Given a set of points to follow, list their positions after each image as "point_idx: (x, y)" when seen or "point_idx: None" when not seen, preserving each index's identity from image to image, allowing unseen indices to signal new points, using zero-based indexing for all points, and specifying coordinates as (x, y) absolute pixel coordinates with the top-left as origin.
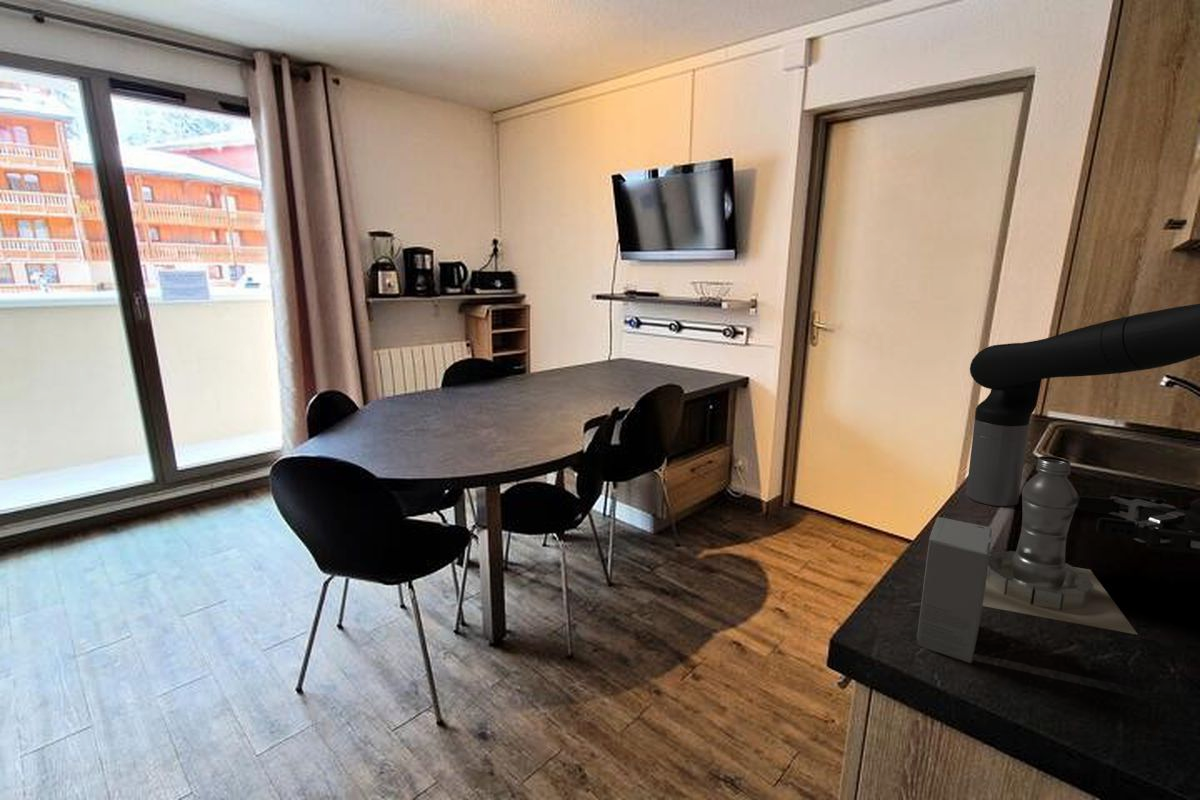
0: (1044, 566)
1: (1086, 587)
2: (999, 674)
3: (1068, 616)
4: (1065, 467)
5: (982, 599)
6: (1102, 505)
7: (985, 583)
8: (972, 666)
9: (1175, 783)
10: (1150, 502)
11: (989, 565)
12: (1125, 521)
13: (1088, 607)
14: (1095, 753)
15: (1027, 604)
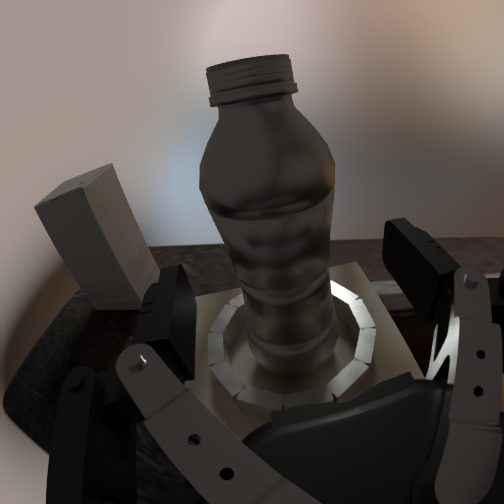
0: (247, 322)
1: (260, 400)
2: (85, 327)
3: (201, 390)
4: (211, 78)
5: (68, 257)
6: (420, 281)
7: (64, 243)
8: (93, 311)
9: (3, 403)
10: (493, 382)
11: None
12: (153, 315)
13: (251, 419)
14: (20, 369)
15: None
